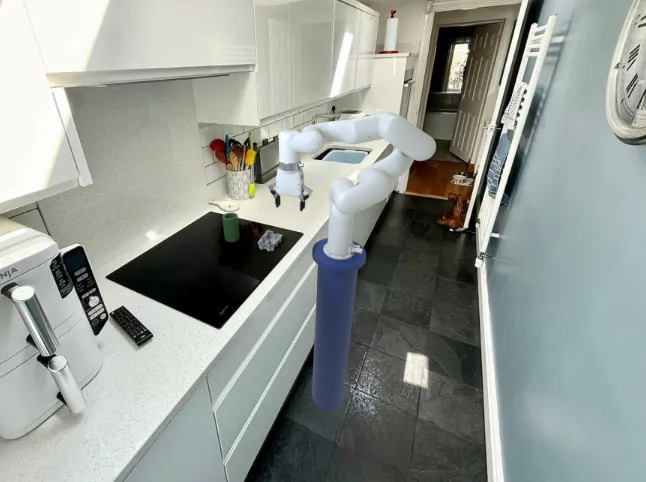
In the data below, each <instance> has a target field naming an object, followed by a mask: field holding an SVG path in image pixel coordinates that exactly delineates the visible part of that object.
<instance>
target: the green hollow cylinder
mask: <svg viewBox="0 0 646 482" xmlns="http://www.w3.org/2000/svg"><path fill="white" fill-rule="evenodd" d="M221 218H222V227H223V235H224V240H225V242H226V243H227V242H228V243H236V242H238V241H239V240H240V237H241V235H240V224H239V215H238V213H237V212H226V213H223V215H222V217H221Z"/></svg>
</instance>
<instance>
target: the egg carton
mask: <svg viewBox="0 0 646 482" xmlns="http://www.w3.org/2000/svg"><path fill="white" fill-rule="evenodd" d="M282 236H283V234H281V233H278V232H276V233H274V231H272V230H270V229H267V230H265V232H264V234H263V235H262V236H261V237H260V239H259V240H258V241H257V245H258V248H259V250H267V252H273V251H275V247H276V248H277V247H278V245H279V243H282Z"/></svg>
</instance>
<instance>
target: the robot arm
mask: <svg viewBox="0 0 646 482" xmlns="http://www.w3.org/2000/svg"><path fill="white" fill-rule="evenodd" d="M383 139H384V140H385V141H386V142H387V143H389V144H390V145H391V146H393V147H394V149H393V150H392V151H391V153H390V154H389V155H387V156H386V157H383V158H382V159H380V160H378V161H376V162H374V163H372V164H369V165H368V166H366V167H364V168H363V169H361V170H360V171H359V172H358V173H357V176H356V181H357V185H356V184H355V183H354V182H353V181H352V180H351V179H350V178H346V177H338V178H337V179H335V180H333V182H332V183H331V185H330V186H329V192H328V194H329V195H328V197H329V198H328V200H329V201H328V202H329V213H328V229H327V230H328V231H327V238H328V243H327V244H325V246H324V248H323V251H324V253H325V254H326V255H327V256H328V257H330V258H332V259H336V260H346V259H349V258H351V257H353V256H354V253H355V252H357V253H361V254H362V249H361V248H360V246H359V245H354V244H353V241H354V240H353V232H354V221H355V214H357V213H359V212H362V211H364V210H366V209H368V208H370V207H373V206H374V205H377V204H378V203H380V202H382V201H384V200H385V199H386V198H387V197H388V196H389V195H390V194H391V193H392V189H393V182H392V181H394V180H396V179H397V178H399V177H402V176H403V175H405V173H407V171H408V170H410V168H411V166H412V165H413V163H414V161H418V162H422V161H427V160H429V159H431V158H432V157H433V156H434V154H435V152H436V150H437V142H436V141H435V140H434V139H435V138H433V137H432V136H431V135H429V134H427V133H426V132H424V131H423V130H421V129H420V127H417V126H416V125H414V124H413V123H412V122H410V121H409V120H408V119H406V118H404V117H403V116H401V115H399V114H397V113H394V112H391V111H386V112H380V113H376V114H375V113H374V114H370V115H366V116H365V115H364V116H361V117H357V118H352V119H350V118H349V119H342V120H332V121H324V122H319V123H314V124H311V125H307V126H305V127H303V128H302V130H301V131H298V130H296V129H285V130H282V131H280V132H279V133H278V161H279V163H278V164H279V165H278V168H277V172H276V177H275V178H276V179H275V182H272V183H269V184H268V185H267V188H268V190H269V193H270V194H271V195H272V196H273V198H274V205H275V208H276V209H278V208H279V207H280V206H281V195H282V196H289V197H297V198H298V199H299V200H300V201H299V211H300V212H303V210H304V209H306V201H307V200H308V199H309V198H310V197H311V195H312V193H313V192H314V190H313V189H311V188H310V187H308V186H307V185H305V176H304V175H305V174H304V170H303V168H304V167H305V163H302V160H301V154H302V153H303V154H310V155H311V154H317V153H319V152H321V151H322V149H323V148H324V145H325V144H326V143H334V142H335V143H336V142H337V143H343V144H346V145H359V144H362V143H364V144H365V143H368V142H373V141H379V140H383ZM274 188H275V189H274ZM305 192H306V194H304V193H305Z"/></svg>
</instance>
